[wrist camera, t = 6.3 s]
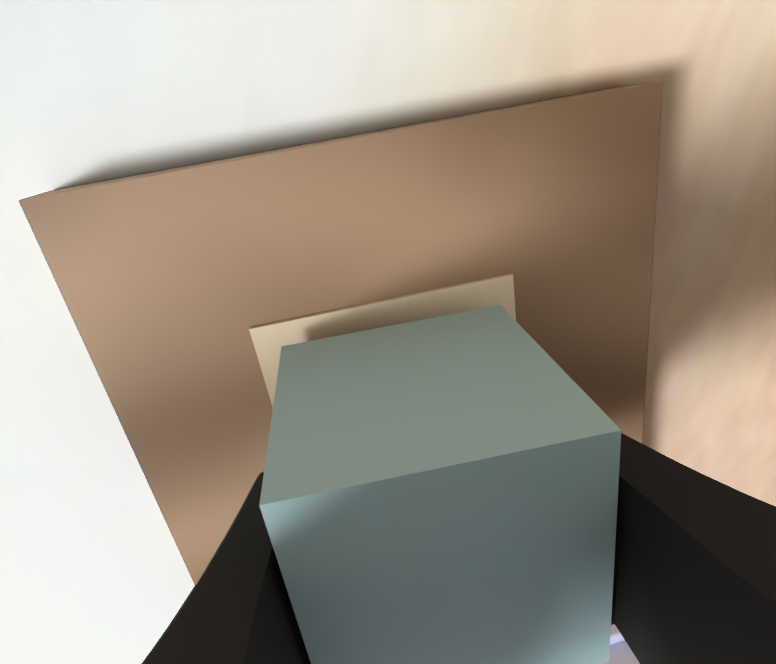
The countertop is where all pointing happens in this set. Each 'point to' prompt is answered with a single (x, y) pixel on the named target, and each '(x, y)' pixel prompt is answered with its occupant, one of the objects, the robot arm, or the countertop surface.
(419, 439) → the teal cube
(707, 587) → the robot arm
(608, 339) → the plate
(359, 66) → the countertop surface
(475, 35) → the countertop surface
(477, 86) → the countertop surface
